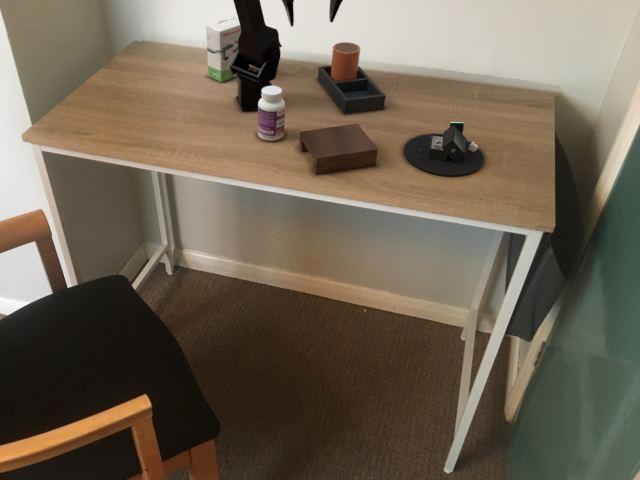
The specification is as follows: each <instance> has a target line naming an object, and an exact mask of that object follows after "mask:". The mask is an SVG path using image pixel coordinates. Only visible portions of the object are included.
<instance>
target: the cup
mask: <svg viewBox="0 0 640 480" xmlns="http://www.w3.org/2000/svg"><path fill="white" fill-rule="evenodd" d="M360 57H361V47H360V45H358V44H356V43H354V42H346V41H345V42H343V41H342V42H338V43H335V44H334V45H333V46H332V53H331V62H330V63H331V64H330V65H331V75H330V77H331V79H332V80H333V81H334V82H337V81H345V80H353V79H357V73H358V66H359V64H360Z"/></svg>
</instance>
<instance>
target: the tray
mask: <svg viewBox="0 0 640 480" xmlns="http://www.w3.org/2000/svg"><path fill="white" fill-rule="evenodd" d="M330 75H331V64H329V65H320V66H318V68H317V81H318V82H319V84H320V85H321V87H323V89H324V90H325V92H326V93H327V94H328V95H329V97H330V98H331V99H332V100H333V102H334V103H335V104H336V106H337V107H338V108H339V109H340V111H341V112H342V113H343V114H344V115H349V114H357V113H365V112H372V111H379V110H384V109H385V103H386V94H385V93H384V92H383V91H382V90H381V88H380V87H379V86H378V85H377V84H376V83H375V82H374V81H373V80H372V79H371V77H369V75H368V74H367V73H366V72H365V71H364V70H363V69H362V68H361V67H360V66H359V65H358V73H357V79H353V80H345V81H337V82H334V81H333V80H332V79H331V77H330Z"/></svg>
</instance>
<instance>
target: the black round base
mask: <svg viewBox="0 0 640 480" xmlns="http://www.w3.org/2000/svg"><path fill="white" fill-rule="evenodd" d="M464 129H465V122H462V121H451V122H450V123H449V128H447V129H445V130H444V131H443V132H442V133H427V134H426V133H425V134H420V135H417V136H415V137H413V138H411V139H409V140H408V141H407V142H406V143H405V145H404V147H403V156H404V158H405V160H406V161H407V162H408V163H409V164H410V165H411V166H413V167H414V168H415V169H418V170H420V171H422V172H424V173H427V174H429V175H435V176H440V177H449V178H451V177H453V178H455V177H456V178H457V177H464V176H468V175H471V174H473V173H475V172H477V171H478V170H480V169H481V167H482V166H483V163H484V155H483V152H482V151H481V149H480V148H479V145H478V144H477V143H475V141H472V142H470V141H469V140H467V137H466V135H464Z"/></svg>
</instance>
